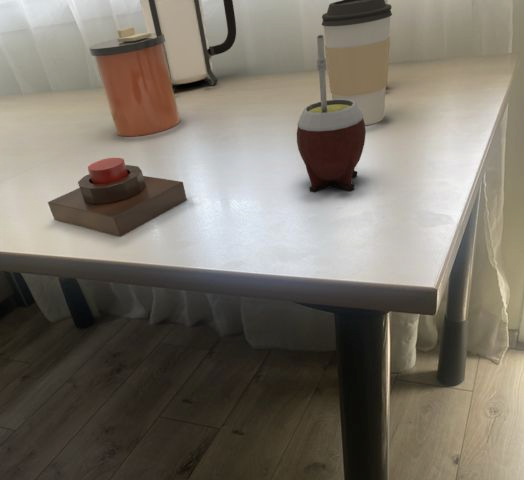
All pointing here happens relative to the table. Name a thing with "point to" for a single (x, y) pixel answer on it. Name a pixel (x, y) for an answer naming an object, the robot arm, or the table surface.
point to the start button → (107, 170)
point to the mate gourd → (330, 137)
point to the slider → (131, 35)
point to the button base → (118, 202)
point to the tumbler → (137, 85)
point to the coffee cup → (358, 53)
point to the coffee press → (187, 37)
